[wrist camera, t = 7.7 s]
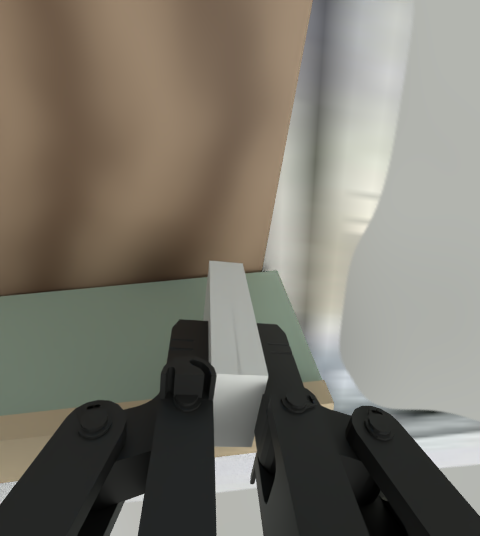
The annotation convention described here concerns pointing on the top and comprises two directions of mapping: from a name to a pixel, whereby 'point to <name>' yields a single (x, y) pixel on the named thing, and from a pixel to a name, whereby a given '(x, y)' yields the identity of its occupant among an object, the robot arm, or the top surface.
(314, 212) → the top surface
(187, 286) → the bar
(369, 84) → the top surface
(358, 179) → the top surface
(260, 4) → the gate frame
